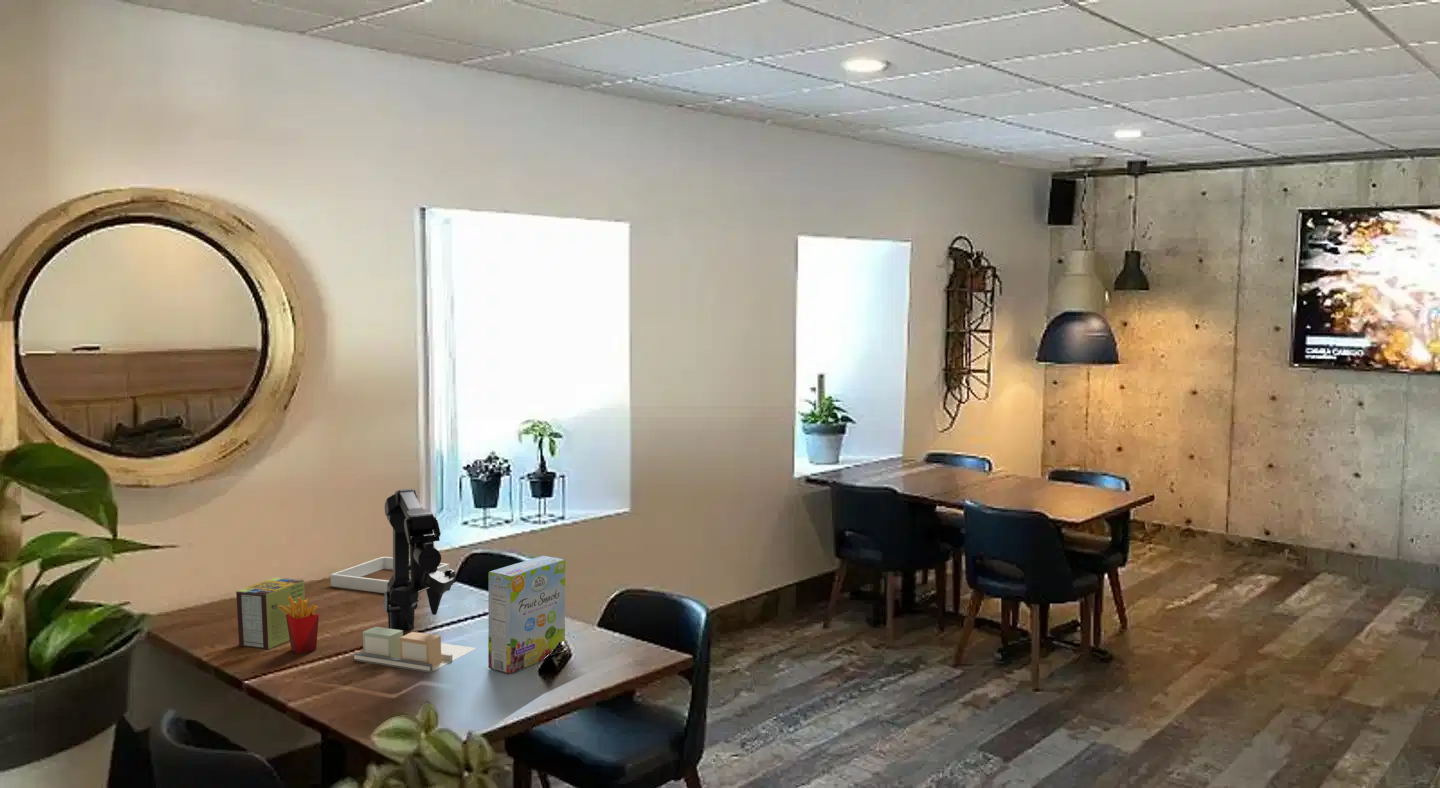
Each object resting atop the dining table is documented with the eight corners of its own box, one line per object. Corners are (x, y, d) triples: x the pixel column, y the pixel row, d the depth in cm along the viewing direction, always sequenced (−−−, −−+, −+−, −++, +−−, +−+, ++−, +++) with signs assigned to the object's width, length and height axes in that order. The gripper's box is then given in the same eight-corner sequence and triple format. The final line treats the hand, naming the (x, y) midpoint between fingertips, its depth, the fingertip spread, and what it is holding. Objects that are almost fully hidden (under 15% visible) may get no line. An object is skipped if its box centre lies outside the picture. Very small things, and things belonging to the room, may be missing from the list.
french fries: (310, 644, 302) (308, 590, 300) (323, 651, 296) (321, 596, 294) (278, 651, 296) (276, 597, 294) (291, 658, 290) (289, 603, 288)
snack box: (512, 676, 276) (510, 576, 274) (487, 669, 281) (484, 571, 278) (568, 651, 295) (566, 557, 292) (543, 646, 299) (541, 553, 297)
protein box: (307, 633, 312) (304, 579, 310) (268, 650, 297) (266, 594, 296) (277, 629, 315) (274, 576, 314) (237, 646, 301) (234, 590, 299)
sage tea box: (403, 656, 289) (402, 630, 288) (391, 662, 284) (390, 636, 284) (376, 652, 292) (375, 626, 292) (363, 658, 288) (362, 632, 287)
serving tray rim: (330, 586, 360) (330, 574, 360) (383, 567, 384) (383, 556, 384) (399, 595, 350) (399, 582, 349) (449, 575, 373) (449, 563, 373)
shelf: (354, 663, 286) (354, 653, 286) (404, 640, 305) (404, 631, 304) (429, 675, 277) (429, 665, 277) (476, 651, 295) (476, 641, 295)
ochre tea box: (441, 662, 284) (440, 635, 284) (429, 668, 280) (428, 641, 279) (413, 657, 288) (412, 631, 287) (400, 663, 283) (399, 637, 282)
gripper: (423, 573, 272) (425, 634, 273) (469, 555, 289) (470, 613, 290) (387, 568, 276) (389, 628, 278) (434, 551, 293) (436, 608, 295)
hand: (423, 619), depth 285 cm, fingers open, 9 cm apart
